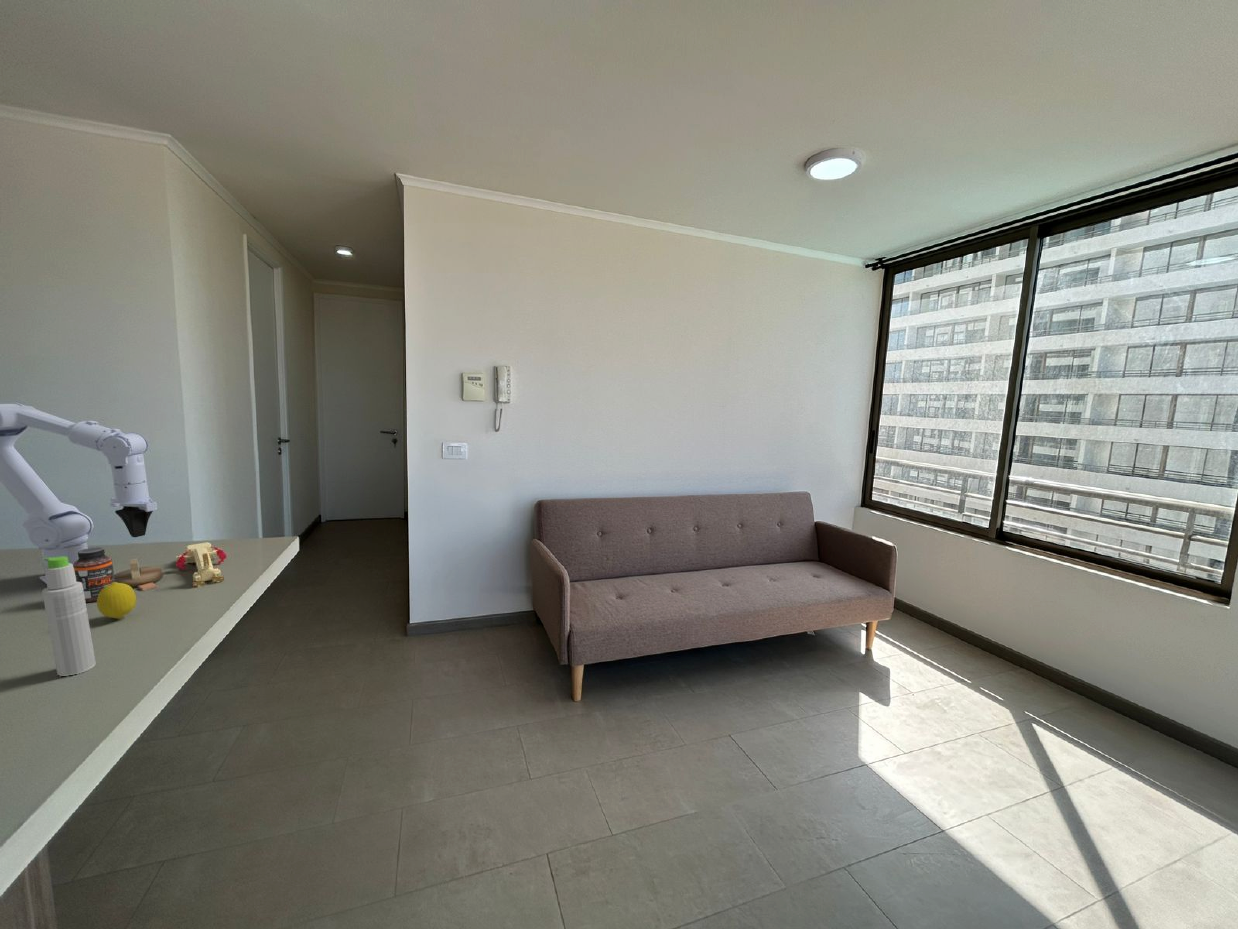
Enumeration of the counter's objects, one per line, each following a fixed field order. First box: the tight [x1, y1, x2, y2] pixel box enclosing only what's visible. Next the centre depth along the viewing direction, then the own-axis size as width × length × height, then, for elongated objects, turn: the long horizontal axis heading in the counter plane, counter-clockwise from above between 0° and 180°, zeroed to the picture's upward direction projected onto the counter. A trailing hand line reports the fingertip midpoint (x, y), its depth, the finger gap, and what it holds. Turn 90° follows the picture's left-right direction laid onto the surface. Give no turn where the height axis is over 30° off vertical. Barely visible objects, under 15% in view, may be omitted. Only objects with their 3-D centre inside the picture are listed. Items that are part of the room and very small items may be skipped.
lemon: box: [96, 582, 137, 620], centre depth 98 cm, size 6×6×8 cm
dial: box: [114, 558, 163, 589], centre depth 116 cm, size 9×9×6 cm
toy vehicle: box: [175, 541, 227, 588], centre depth 124 cm, size 10×9×25 cm
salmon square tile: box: [138, 582, 157, 591], centre depth 114 cm, size 2×2×1 cm
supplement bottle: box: [73, 546, 115, 603], centre depth 107 cm, size 6×6×11 cm
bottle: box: [41, 556, 97, 676], centre depth 80 cm, size 4×4×20 cm
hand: (138, 536), depth 119 cm, fingers closed
